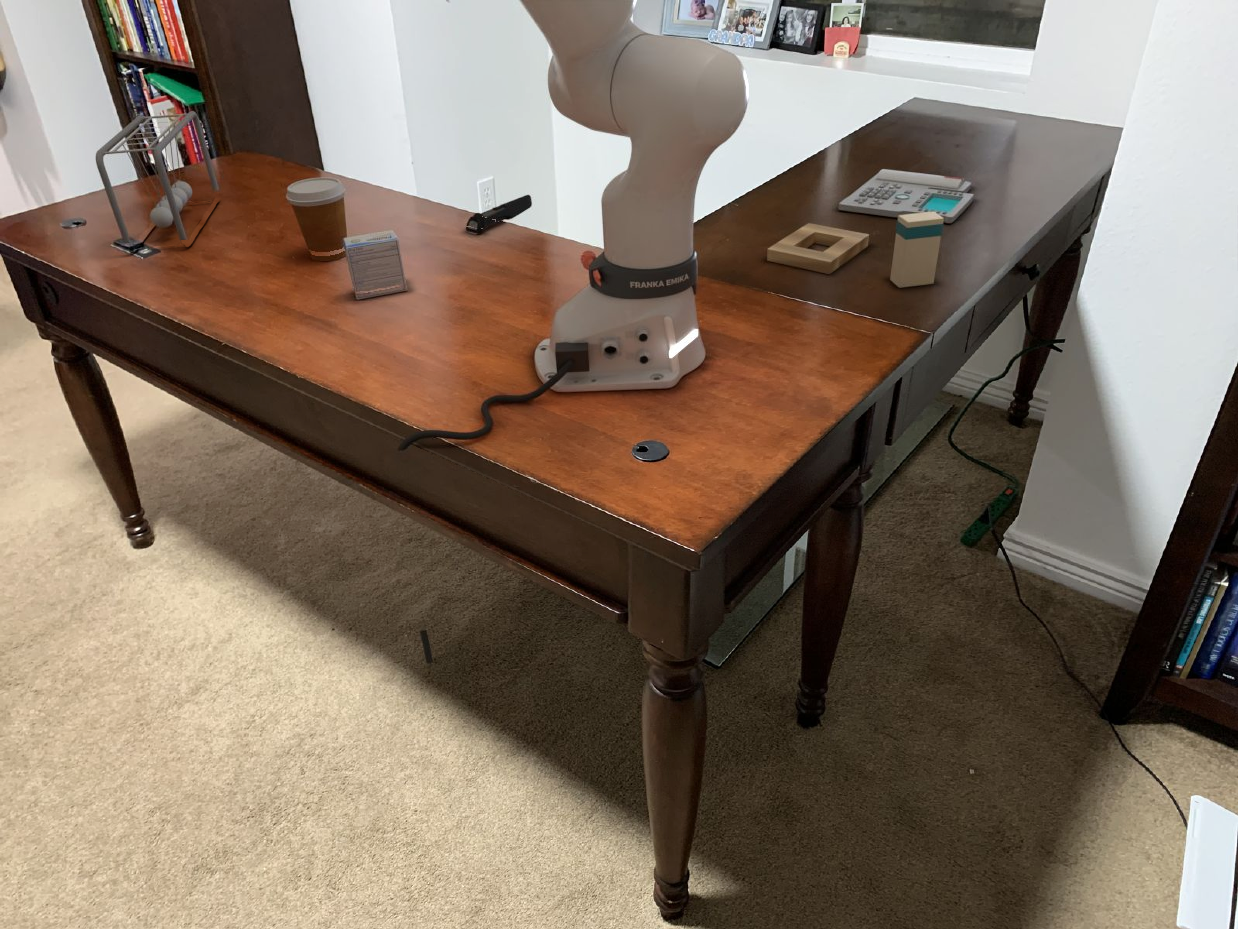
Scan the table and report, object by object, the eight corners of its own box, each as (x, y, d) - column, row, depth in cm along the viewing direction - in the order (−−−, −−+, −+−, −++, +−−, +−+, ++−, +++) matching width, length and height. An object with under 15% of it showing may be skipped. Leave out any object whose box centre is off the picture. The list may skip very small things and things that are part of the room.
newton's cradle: (169, 203, 187) (140, 112, 177) (222, 199, 188) (196, 108, 178) (127, 256, 162) (91, 153, 152) (189, 251, 163) (157, 148, 153)
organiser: (829, 274, 142) (830, 262, 141) (766, 260, 148) (767, 248, 147) (868, 246, 151) (869, 234, 150) (807, 234, 157) (808, 222, 156)
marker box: (898, 288, 137) (907, 222, 131) (889, 279, 139) (897, 214, 134) (934, 283, 137) (944, 218, 132) (924, 275, 140) (933, 210, 134)
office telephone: (881, 163, 181) (986, 175, 171) (879, 176, 182) (984, 189, 173) (839, 196, 164) (953, 211, 155) (837, 210, 166) (950, 226, 157)
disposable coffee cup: (296, 251, 160) (279, 182, 154) (350, 240, 164) (336, 173, 157) (307, 269, 153) (290, 197, 146) (364, 257, 157) (349, 187, 150)
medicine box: (403, 281, 147) (393, 228, 142) (408, 291, 143) (398, 237, 139) (353, 290, 145) (341, 237, 140) (357, 301, 141) (345, 246, 136)
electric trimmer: (538, 211, 173) (536, 195, 171) (479, 235, 163) (477, 217, 161) (523, 208, 175) (521, 192, 173) (464, 231, 165) (462, 214, 163)
